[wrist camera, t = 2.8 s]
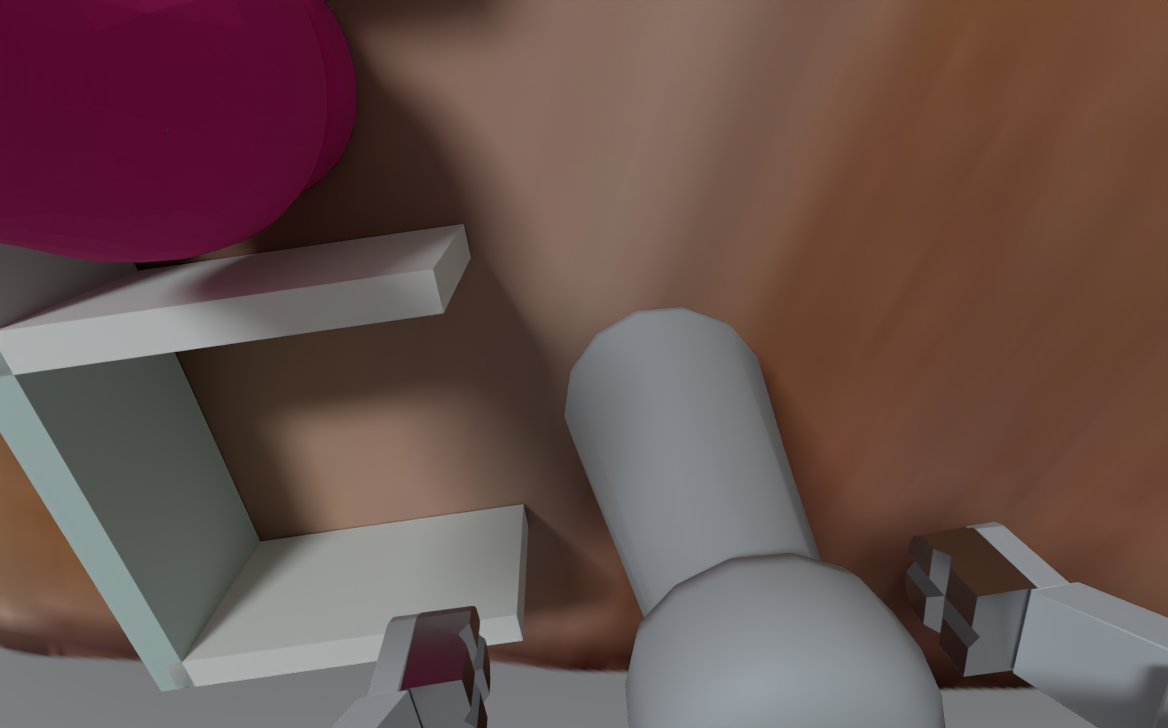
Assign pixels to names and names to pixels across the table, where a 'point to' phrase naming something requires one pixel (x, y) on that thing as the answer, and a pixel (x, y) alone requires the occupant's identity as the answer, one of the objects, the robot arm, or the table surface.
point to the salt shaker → (727, 545)
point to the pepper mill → (164, 121)
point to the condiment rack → (198, 472)
